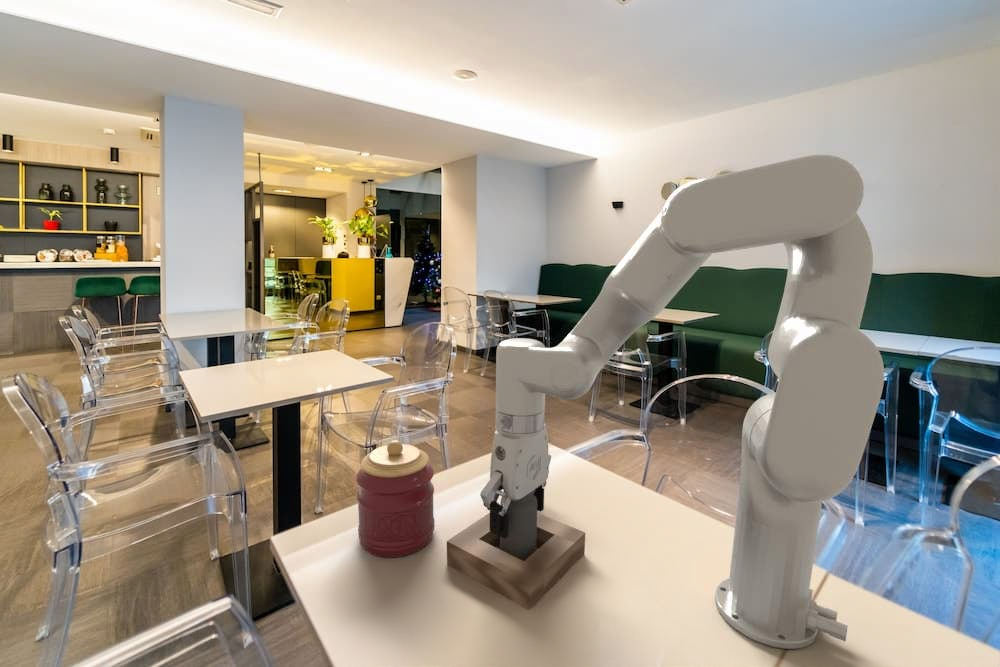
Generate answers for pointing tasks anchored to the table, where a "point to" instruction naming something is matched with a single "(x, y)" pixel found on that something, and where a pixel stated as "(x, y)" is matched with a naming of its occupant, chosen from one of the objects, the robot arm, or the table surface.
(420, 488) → the canister
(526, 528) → the bottle
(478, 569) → the collar block
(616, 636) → the table surface
